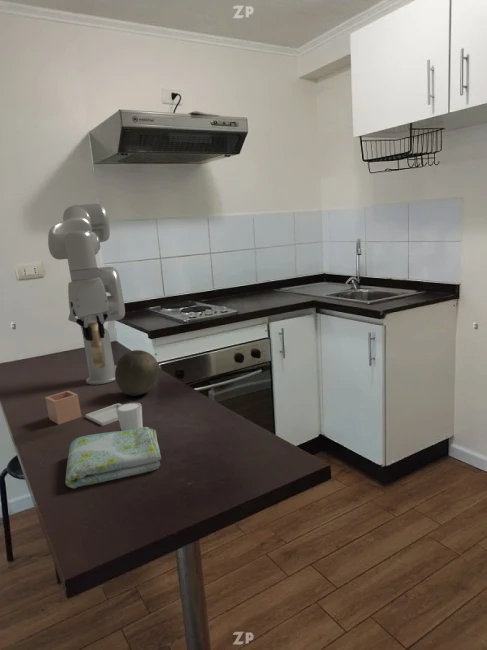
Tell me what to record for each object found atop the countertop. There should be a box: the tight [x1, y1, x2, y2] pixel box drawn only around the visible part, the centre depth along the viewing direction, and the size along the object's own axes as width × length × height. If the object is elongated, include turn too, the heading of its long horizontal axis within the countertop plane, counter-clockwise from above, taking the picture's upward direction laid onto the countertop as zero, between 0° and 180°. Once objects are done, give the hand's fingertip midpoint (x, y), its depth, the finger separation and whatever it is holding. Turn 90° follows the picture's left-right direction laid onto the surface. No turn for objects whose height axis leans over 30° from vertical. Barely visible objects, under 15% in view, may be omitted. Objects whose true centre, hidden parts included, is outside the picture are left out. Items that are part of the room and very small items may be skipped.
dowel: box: [88, 322, 105, 368], centre depth 139 cm, size 3×3×13 cm
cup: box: [44, 390, 83, 425], centre depth 145 cm, size 7×7×8 cm
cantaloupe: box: [115, 349, 160, 397], centre depth 161 cm, size 14×14×15 cm
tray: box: [85, 402, 123, 427], centre depth 143 cm, size 11×11×2 cm
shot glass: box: [116, 402, 144, 431], centre depth 131 cm, size 7×7×7 cm
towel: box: [65, 426, 162, 489], centre depth 114 cm, size 18×21×5 cm
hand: (95, 338), depth 139 cm, fingers closed on dowel, 3 cm apart
